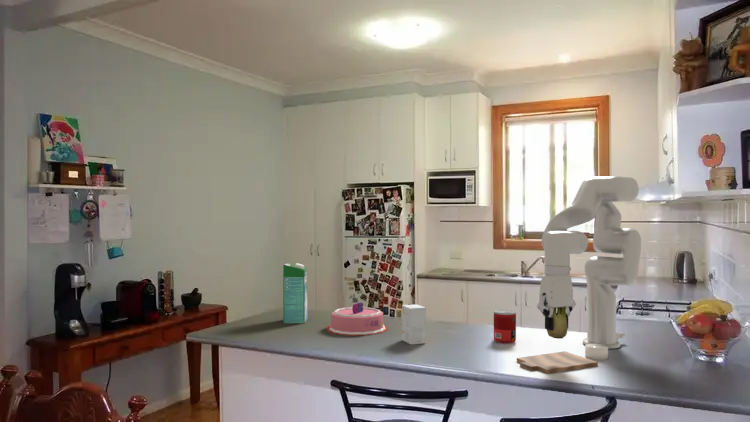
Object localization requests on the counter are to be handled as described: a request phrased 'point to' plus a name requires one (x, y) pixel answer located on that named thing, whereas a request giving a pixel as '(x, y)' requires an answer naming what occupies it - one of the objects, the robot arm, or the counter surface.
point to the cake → (357, 321)
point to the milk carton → (294, 293)
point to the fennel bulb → (559, 323)
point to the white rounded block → (596, 351)
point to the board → (555, 362)
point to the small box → (414, 324)
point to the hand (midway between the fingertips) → (556, 328)
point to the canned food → (504, 326)
